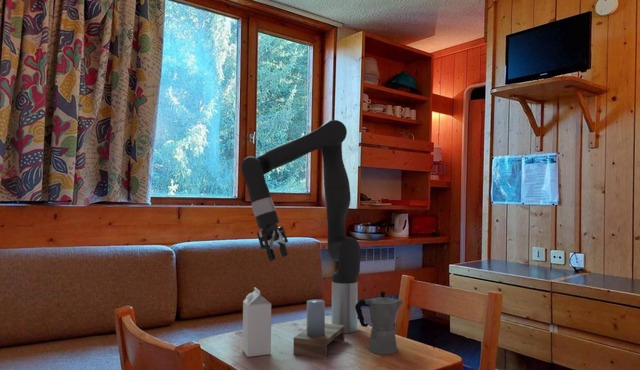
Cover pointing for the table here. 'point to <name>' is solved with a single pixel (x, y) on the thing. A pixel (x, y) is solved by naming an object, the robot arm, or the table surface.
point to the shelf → (318, 341)
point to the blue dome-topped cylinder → (315, 318)
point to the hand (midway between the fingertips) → (279, 258)
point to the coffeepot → (381, 323)
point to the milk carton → (256, 325)
